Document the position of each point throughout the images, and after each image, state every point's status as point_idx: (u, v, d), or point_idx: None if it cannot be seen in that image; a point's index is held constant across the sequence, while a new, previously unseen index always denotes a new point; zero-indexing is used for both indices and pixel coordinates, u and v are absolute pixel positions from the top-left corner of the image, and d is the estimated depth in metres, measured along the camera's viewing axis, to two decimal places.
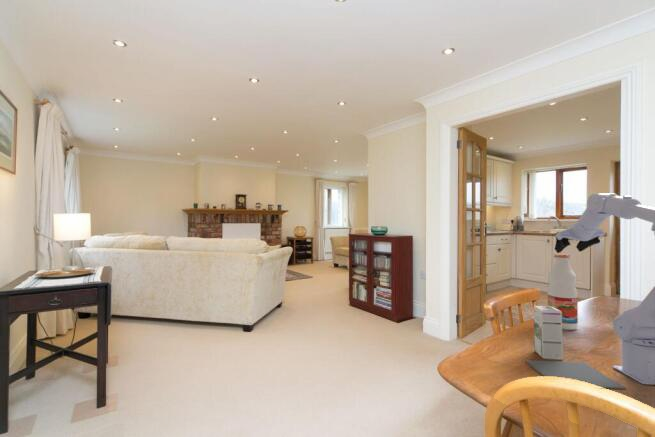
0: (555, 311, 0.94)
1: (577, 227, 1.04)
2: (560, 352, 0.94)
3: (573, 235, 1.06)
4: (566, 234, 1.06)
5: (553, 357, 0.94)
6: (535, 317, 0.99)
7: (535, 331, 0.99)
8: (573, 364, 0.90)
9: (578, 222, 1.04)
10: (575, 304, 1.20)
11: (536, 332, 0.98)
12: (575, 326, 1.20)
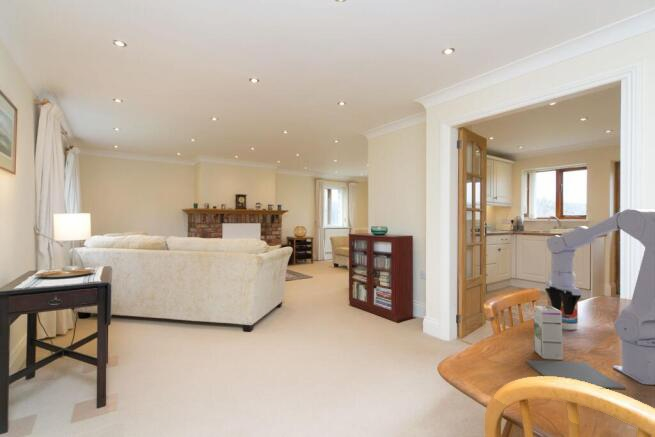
0: (555, 311, 0.94)
1: (568, 277, 1.04)
2: (560, 352, 0.94)
3: (570, 287, 1.04)
4: (572, 288, 1.02)
5: (553, 357, 0.94)
6: (535, 317, 0.99)
7: (535, 331, 0.99)
8: (573, 364, 0.90)
9: (564, 272, 1.05)
10: None
11: (536, 332, 0.98)
12: (575, 326, 1.20)
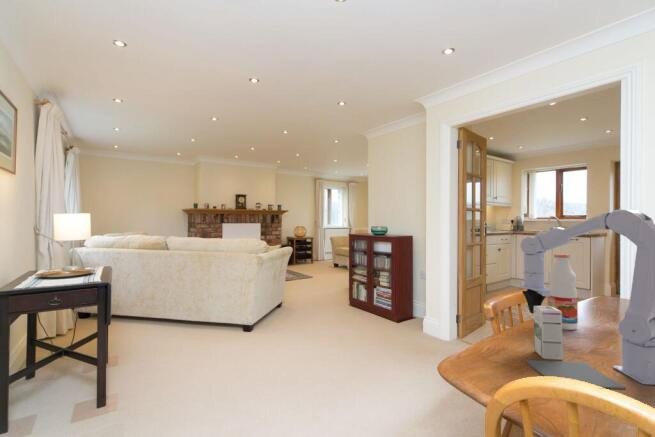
0: (555, 311, 0.94)
1: (539, 278, 1.04)
2: (560, 352, 0.94)
3: (541, 288, 1.04)
4: (543, 289, 1.02)
5: (553, 357, 0.94)
6: (535, 317, 0.99)
7: (535, 331, 0.99)
8: (573, 364, 0.90)
9: (536, 274, 1.05)
10: (575, 304, 1.20)
11: (536, 332, 0.98)
12: (575, 326, 1.20)
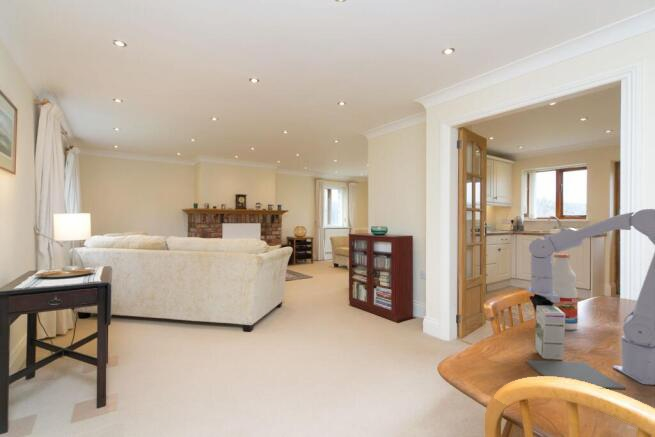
0: (559, 313, 0.92)
1: (547, 282, 0.97)
2: (561, 352, 0.93)
3: (550, 293, 0.97)
4: (552, 294, 0.95)
5: (553, 357, 0.94)
6: (537, 317, 0.97)
7: (536, 330, 0.98)
8: (573, 364, 0.90)
9: (544, 278, 0.97)
10: (575, 304, 1.20)
11: (537, 332, 0.97)
12: (575, 326, 1.20)
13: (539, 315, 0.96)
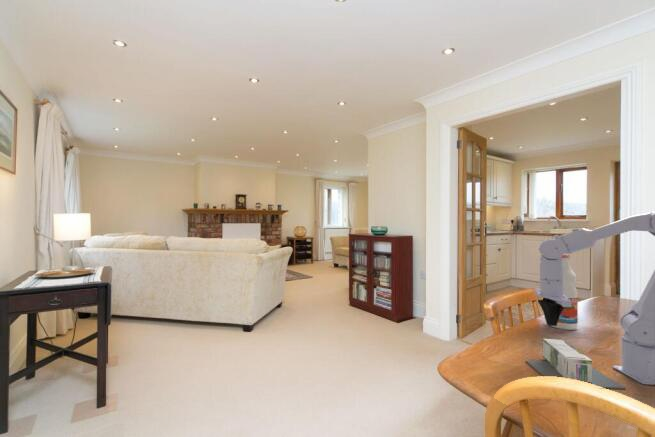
0: (584, 381, 0.80)
1: (558, 285, 0.92)
2: None
3: (560, 297, 0.92)
4: (563, 298, 0.90)
5: None
6: (560, 359, 0.84)
7: (552, 351, 0.88)
8: None
9: (554, 281, 0.93)
10: (575, 304, 1.20)
11: (552, 354, 0.88)
12: (575, 326, 1.20)
13: (562, 364, 0.83)
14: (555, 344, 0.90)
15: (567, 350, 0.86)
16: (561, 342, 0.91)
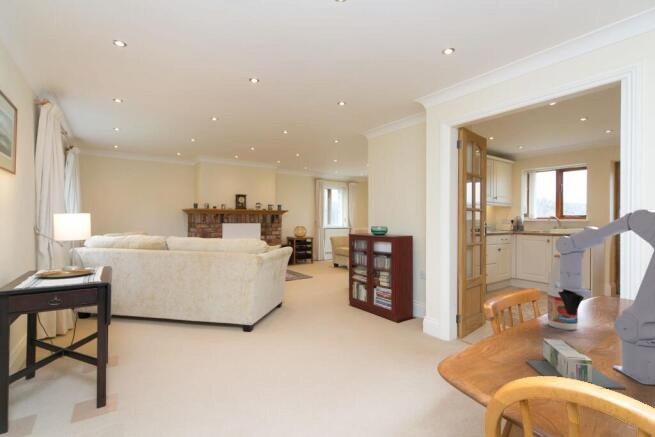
0: (584, 381, 0.80)
1: (577, 278, 1.02)
2: None
3: (580, 288, 1.02)
4: None
5: None
6: (560, 359, 0.84)
7: (552, 351, 0.88)
8: None
9: (574, 274, 1.02)
10: None
11: (552, 354, 0.88)
12: (575, 326, 1.20)
13: (562, 364, 0.83)
14: (555, 344, 0.90)
15: (567, 350, 0.86)
16: (561, 342, 0.91)
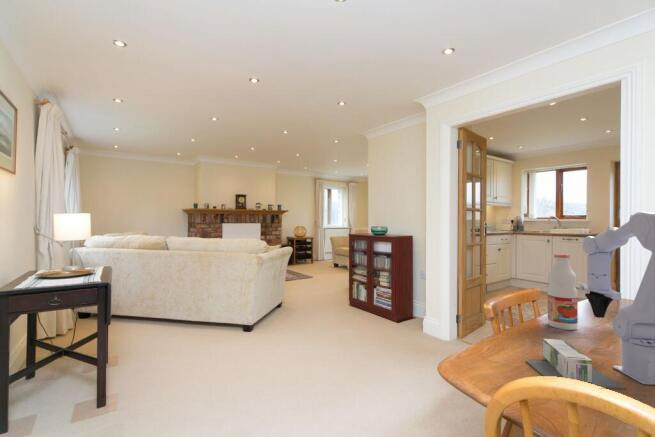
0: (584, 381, 0.80)
1: (606, 280, 0.99)
2: None
3: (609, 290, 0.98)
4: (612, 292, 0.97)
5: None
6: (560, 359, 0.84)
7: (552, 351, 0.88)
8: None
9: (602, 275, 0.99)
10: (575, 304, 1.20)
11: (552, 354, 0.88)
12: (575, 326, 1.20)
13: (562, 364, 0.83)
14: (555, 344, 0.90)
15: (567, 350, 0.86)
16: (561, 342, 0.91)
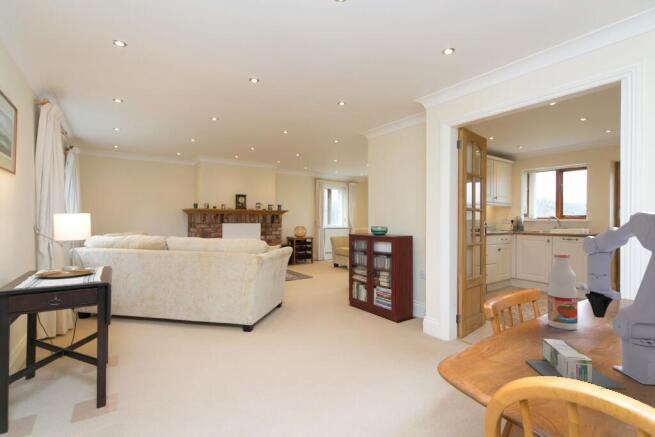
0: (584, 381, 0.80)
1: (606, 280, 0.99)
2: None
3: (609, 290, 0.98)
4: (612, 292, 0.97)
5: None
6: (560, 359, 0.84)
7: (552, 351, 0.88)
8: None
9: (602, 275, 0.99)
10: (575, 304, 1.20)
11: (552, 354, 0.88)
12: (575, 326, 1.20)
13: (562, 364, 0.83)
14: (555, 344, 0.90)
15: (567, 350, 0.86)
16: (561, 342, 0.91)
